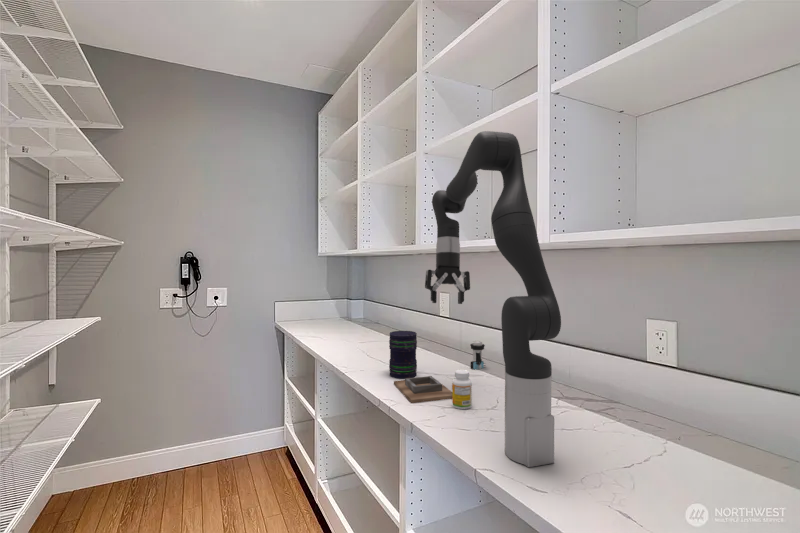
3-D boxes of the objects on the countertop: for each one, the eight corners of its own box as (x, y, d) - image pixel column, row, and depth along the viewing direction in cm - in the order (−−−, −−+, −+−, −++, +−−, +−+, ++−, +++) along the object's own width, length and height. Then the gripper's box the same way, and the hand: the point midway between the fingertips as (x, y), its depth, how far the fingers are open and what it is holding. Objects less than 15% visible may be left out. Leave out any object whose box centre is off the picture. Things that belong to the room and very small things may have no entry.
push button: (480, 365, 151) (480, 339, 151) (490, 368, 146) (490, 342, 146) (467, 367, 148) (467, 341, 147) (476, 371, 143) (477, 344, 143)
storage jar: (383, 375, 138) (383, 333, 138) (401, 369, 145) (401, 329, 145) (404, 381, 131) (404, 337, 131) (422, 374, 139) (422, 332, 139)
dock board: (456, 398, 115) (456, 388, 115) (411, 403, 111) (411, 392, 111) (433, 380, 132) (433, 371, 132) (393, 384, 128) (393, 375, 128)
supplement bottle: (456, 401, 112) (456, 367, 112) (474, 404, 110) (474, 370, 110) (449, 407, 108) (449, 372, 108) (467, 411, 105) (467, 375, 105)
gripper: (429, 249, 119) (429, 303, 117) (473, 252, 122) (473, 304, 120) (423, 252, 126) (422, 303, 125) (464, 254, 129) (464, 303, 128)
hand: (447, 303), depth 122 cm, fingers open, 8 cm apart
